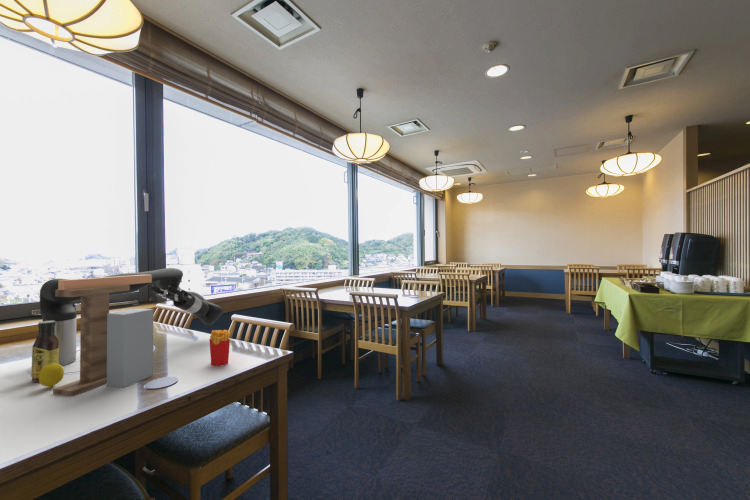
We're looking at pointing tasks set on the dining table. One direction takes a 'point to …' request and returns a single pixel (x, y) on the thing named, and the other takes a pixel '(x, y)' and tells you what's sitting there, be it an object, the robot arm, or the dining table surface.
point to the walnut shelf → (91, 337)
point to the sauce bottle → (44, 348)
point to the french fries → (219, 347)
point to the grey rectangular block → (129, 346)
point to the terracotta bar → (103, 282)
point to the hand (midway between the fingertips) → (159, 287)
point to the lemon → (51, 374)
